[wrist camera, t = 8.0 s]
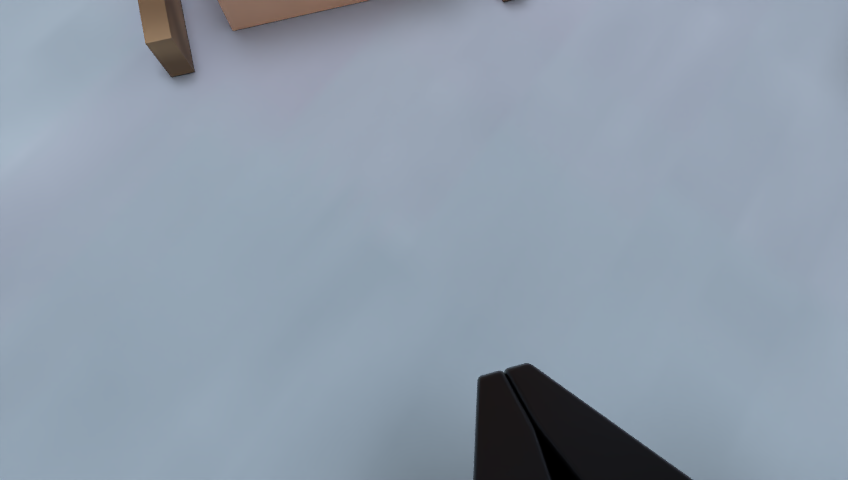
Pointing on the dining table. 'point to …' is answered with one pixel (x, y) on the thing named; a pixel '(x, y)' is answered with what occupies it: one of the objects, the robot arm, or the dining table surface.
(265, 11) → the t block
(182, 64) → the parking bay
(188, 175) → the dining table surface
